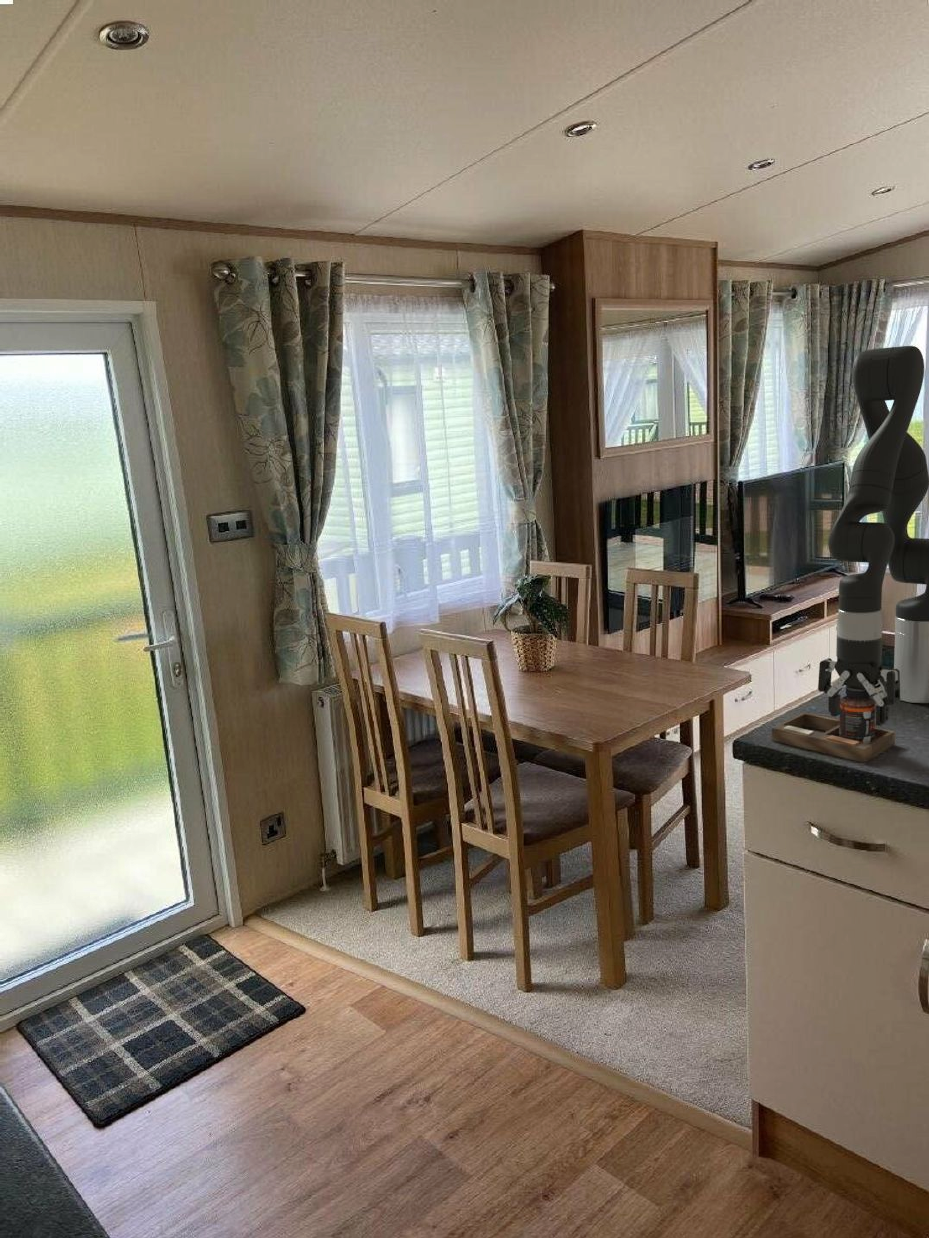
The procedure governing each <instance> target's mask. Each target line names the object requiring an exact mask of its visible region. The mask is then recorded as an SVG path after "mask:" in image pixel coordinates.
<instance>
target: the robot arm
mask: <svg viewBox="0 0 929 1238" xmlns="http://www.w3.org/2000/svg"><path fill="white" fill-rule="evenodd" d="M922 353H923V352H921V350H920V349H919V348H918V347H917V346H915V345H901V346H892V347H891V346H889V347H881V348H874V349H873V348H872V349H866V350H863V351H861V352H859V353H858V354H857V355H856V356H855V358H854V360H853V365H852V383H853V388H854V392H855V396H856V400H857V403H858V404H857V405H858V407H859V410H860V413H861V417H862V420H863V424H864V427H865V431H866V434H867V440H868V441H866V443H865V445H864V446H863V447H862V449H860V451H859V453H858V454H857V457H856V459H855V460H854V463H853V466H852V472H851V476H850V482H849V486H848V487H849V488H848V493H847V497H846V499H845V502H844V504H843V506H842V508H841V510H840V512H839V515H838V517H837V519H836V520H835V523H834V524H833V526H832V528H831V530H830V532H829V536H828V543H827V547H828V550H829V554H830V555H831V557H832V558H834V560H836V561H839V562H846V563H850V562H851V563H864V564H865V563H868V566H867V568H866V570H865V572H861V573H855V574H854V573H853V574H849V575H845V576H843V577H842V578H840V581H839V583H838V584H839V585H838V613H837V620H836V627H835V629H836V652H835V653H836V655H835V656H836V661H834V660H832V658H829V657H828V658H825V659H823V660H821V661H820V662H819V666H818V667H819V669H818V683H817V684H818V685H817V689H818V691H819V692H821V693H822V692H823V693H824V694H827V696H828V709H827V710H828V712H829V713H830V716H832V717H838V716H840V700H841V699H842V697H841V696H842V695H841V694H840V692H841V691H842V690H843V689H844V688H846V686H847V687H848V688H857V689H860V690H867V692H868V693H869V696H870V697H871V698H872V699H873V700H874V702H875V704H877V705H875V725H876V726H880V727H881V726H883V725H884V724H886V723H887V722H888V720H889V712H890V711H889V709H890V706H892V705H895V704H896V703H898V702H900V701H903V702H907V703H913V704H914V703H915V704H917V703H918V704H929V538H922V537H920V538H919V537H910V535H909V534H908V525H909V523H910V520H911V518H912V516H913V514H914V513H915V512H916V510H917V508H918V507H919V506H920V505H921V503H922V502H923V500H924V498H925V496H926V495H927V492H928V491H929V470H928V463H927V456H926V454H925V452H924V451H925V450H924V449H923V447H921V445H920V444H919V442H917V440H915V438H914V437H913V436H912V435H911V434H910V433H909V432H908V430H909V427H910V425H911V422H912V419H913V416H914V413H915V409H916V407H917V403H918V401H919V397H920V394H921V391H922V387H923V383H924V382H923V381H924V377H925V361H924V356H923V354H922ZM887 401H893V403H892V405H891V408H890V409H889V407H888V405H887ZM880 512H882V519H883V522H878V521H877V522H875V521H872V522H869V521H861V520H863V518H865V517H866V516H868V515H872V514H877V513H880ZM887 568H888V569H889V573H890V575H891V578H892V579H893V581H895V582H898V583H905V584H912V585H913V584H916V585H925V591H924V593H922V594H920V595H916V596H914V597H909V598H905V599H901V600H899V601H897V603H896V605H895V616H894V617H895V621H894V622H895V625H894V626H895V627H894V656H893V657H894V659H893V669H884V668H883V666H882V656H883V651H882V650H883V624H884V623H883V622H884V621H883V616H882V615H883V614H882V598H883V596H882V595H883V593H882V592H883V585H884V579H885V575H886V571H887ZM834 670H835V672H836V674H837V675H838V676H839V677H838V678H837V679H836V680H835V682H834V683H832V676H833V675H832V674H833V672H834ZM880 678H883V680H884V682H885V683H886V690H885V686H884V685H883V684H882V682H881V680H880Z"/></svg>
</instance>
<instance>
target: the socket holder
mask: <svg viewBox="0 0 929 1238" xmlns="http://www.w3.org/2000/svg"><path fill="white" fill-rule="evenodd" d="M839 723H840V719H839V718H838V719H837V718H832V717H827V716H822V715H818V714H812V713H809V712H801V713H799V714H797V715H795V716H793V717H791V718H789V719H786V720H784V721H782V722H781V723H779V724H777V725H775V726H773V727H771V741H773V742H776V743H780V744H781V743H782V744H784V745H785V744H786V745H790V746H794V747H799V748H801V749H802V748H803V749H805V750H811V751H815V752H819V753H821V754H822V753H823V754H826V753H827V754H826V755H832V756H834V757H835V756H836V757H840V758H843V759H847V760H851V761H854V762H855V761H856V762H859V763H863V764H865V763H867V762H868V761H870V760H871V759H874V757H876V756H878V755H880V754H881V753H883V752H885V751H887V750H888V749H890V748H891V747H893V746H895V744H896V742H895V740H896V731H894V730H889V729H886V728H881V727H876V726H875V732H874V741H873V742H871V743H869V744H865V743H861V742H859V741H855V740H851V739H846V738H842V737H839V727H840V725H839ZM804 727H808V728H811V729H817V730H821V731H823V733H821V732H817V731H814V730H809V729H805V728H804ZM824 731H825V732H824Z"/></svg>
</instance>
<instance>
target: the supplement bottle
mask: <svg viewBox="0 0 929 1238" xmlns="http://www.w3.org/2000/svg"><path fill="white" fill-rule="evenodd" d="M845 694H846V695H845V696H842V697H841V700H840V714H839V720H840V723H839V725H840V727H839V737H842V738H846V739H851V740H855V741H859V742H861V743H865V744H869V743H871V742H873V741H874V732H875V727H876V726H875V725H876V701H875V700H874V698H873V697H872V696H870V695H869V693H868V692H867V690H860V689H857V688H848V687H847V686H845Z"/></svg>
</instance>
